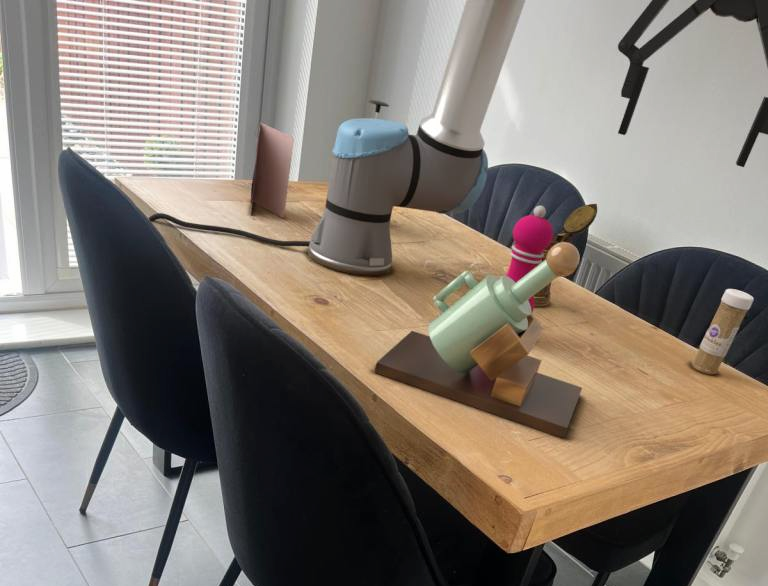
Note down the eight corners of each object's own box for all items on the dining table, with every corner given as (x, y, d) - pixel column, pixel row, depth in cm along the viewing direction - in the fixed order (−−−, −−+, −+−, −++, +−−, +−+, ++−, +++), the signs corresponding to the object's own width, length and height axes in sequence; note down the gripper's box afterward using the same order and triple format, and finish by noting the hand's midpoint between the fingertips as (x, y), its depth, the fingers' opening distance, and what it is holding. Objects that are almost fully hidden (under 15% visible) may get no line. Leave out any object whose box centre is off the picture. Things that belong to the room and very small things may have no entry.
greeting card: (248, 199, 159) (255, 121, 150) (283, 206, 160) (293, 129, 152) (246, 214, 149) (254, 131, 141) (283, 221, 151) (294, 139, 143)
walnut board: (374, 372, 100) (376, 362, 99) (409, 339, 112) (411, 330, 112) (563, 438, 96) (567, 428, 95) (578, 396, 108) (582, 387, 107)
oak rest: (460, 386, 99) (480, 316, 93) (480, 359, 108) (499, 294, 102) (519, 407, 97) (543, 337, 92) (535, 378, 106) (557, 313, 101)
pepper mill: (527, 332, 126) (568, 208, 115) (520, 346, 120) (562, 216, 109) (486, 319, 127) (522, 195, 116) (477, 332, 121) (514, 202, 110)
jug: (409, 364, 101) (446, 213, 90) (428, 345, 108) (464, 203, 97) (526, 405, 98) (579, 255, 87) (538, 383, 105) (588, 241, 94)
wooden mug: (576, 309, 142) (612, 211, 132) (516, 305, 137) (548, 202, 127) (551, 291, 149) (583, 196, 139) (493, 287, 143) (522, 187, 133)
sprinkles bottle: (686, 365, 129) (721, 288, 121) (697, 362, 132) (733, 286, 124) (710, 377, 126) (748, 299, 119) (721, 373, 129) (759, 297, 122)
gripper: (645, -133, 70) (567, 121, 82) (922, -77, 66) (797, 183, 77) (649, -117, 76) (576, 118, 88) (903, -64, 72) (790, 175, 84)
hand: (679, 149), depth 83 cm, fingers open, 12 cm apart
